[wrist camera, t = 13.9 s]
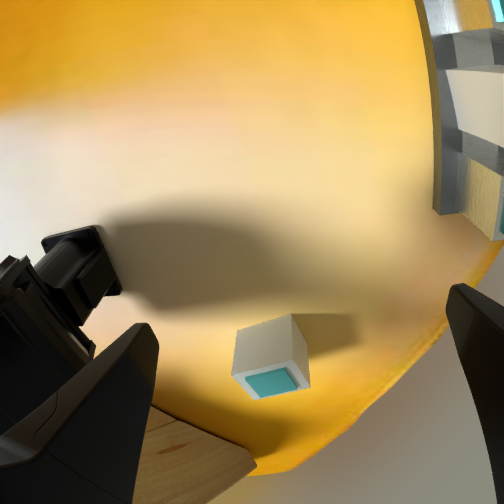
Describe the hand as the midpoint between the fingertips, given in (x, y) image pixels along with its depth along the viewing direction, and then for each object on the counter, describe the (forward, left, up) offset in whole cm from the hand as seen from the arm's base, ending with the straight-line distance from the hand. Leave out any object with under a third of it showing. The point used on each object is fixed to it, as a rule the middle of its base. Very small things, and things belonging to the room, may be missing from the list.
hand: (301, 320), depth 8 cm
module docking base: (+14, +5, -13) cm, 20 cm away
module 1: (-3, -14, -13) cm, 19 cm away
